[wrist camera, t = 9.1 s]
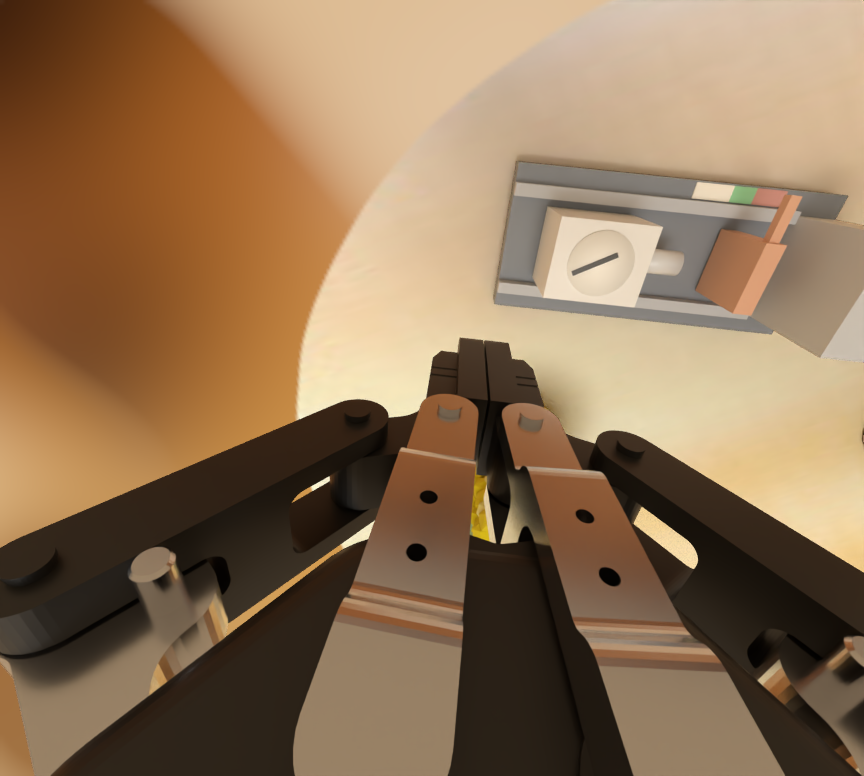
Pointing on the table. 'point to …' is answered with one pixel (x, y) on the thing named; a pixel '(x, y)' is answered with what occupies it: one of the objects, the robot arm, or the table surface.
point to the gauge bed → (702, 253)
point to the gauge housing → (599, 256)
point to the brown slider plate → (745, 263)
